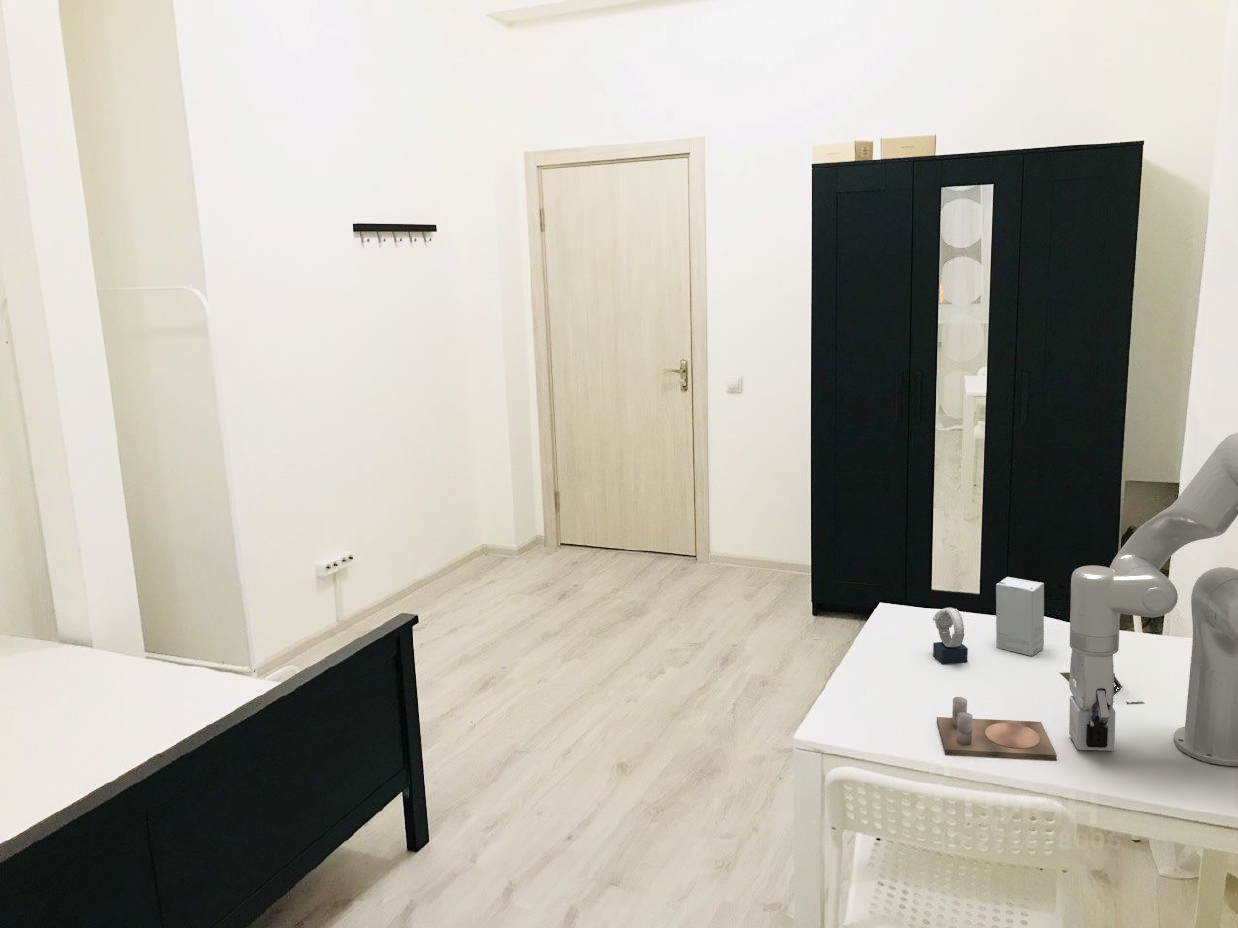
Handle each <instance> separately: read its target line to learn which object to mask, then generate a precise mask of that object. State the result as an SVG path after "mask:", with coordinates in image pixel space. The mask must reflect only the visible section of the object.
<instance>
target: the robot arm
mask: <svg viewBox="0 0 1238 928" xmlns="http://www.w3.org/2000/svg"><path fill="white" fill-rule="evenodd" d="M1237 517H1238V432H1235V433H1233V434H1230V435H1227V436H1226V437H1225V438H1224V439H1223V440H1222V441H1220V443H1218V445H1217V446H1216V448H1215V449H1214V450H1213V452H1212V453H1211V454H1210V456H1209V457H1208V458H1207V460H1206V461H1205V462H1204V464H1203V465H1202V466H1201V467H1200V469H1199V470H1198V471H1197V473H1196V474H1195V475H1194V477H1193V478H1192V479H1191V480H1190V482H1189V483H1188V484H1187V486H1186V487H1185V488H1184V489H1183V491H1182V492H1181V494H1179V496H1178V497H1177V499H1176V500H1175V501H1174V502H1173V503H1172V504H1171V505H1170V506H1168V507H1167V508H1165V509H1164V510H1162V511H1161V512H1159V513H1157V514H1156V515H1155V516H1153V517H1152V518H1150V519H1149V520H1147V521H1146V522H1144V523H1143V524H1142V525H1140V527H1138V529H1136V530H1135V531H1134V533H1133V534H1131V536H1129V538H1128V539H1127V540H1126V542H1125V543H1124V545H1123V546H1122V547H1121V549H1120V550H1119V551H1118V553H1117V554H1116V556H1115V557H1114V558H1113V559H1112V562H1111V564H1110V566H1109V567H1107V566H1101V565H1082V566H1080V567H1078V568H1075V569H1074V570H1073V572H1072V574H1071V580H1070V581H1071V582H1070V611H1069V612H1070V614H1069V615H1070V616H1069V647H1070V648H1071V655H1070V665H1069V666H1070V667H1069V673H1070V678H1069V681H1068V686H1069V690H1070V692H1071V695H1072V696H1074V698H1075V700H1076V701H1077V703H1078V705H1079V706H1080V708H1081V709H1083V710H1086V709H1088V716H1089V724H1087V735H1086V745H1087V746H1088V747H1099V748H1106V747H1107V740H1108V719H1109V713H1108V711H1109V710H1111V709H1112V707H1113V706H1114V702H1113V700H1114V685H1115V683H1114V655H1115V654H1117V653H1118V652H1119V649H1120V622H1121V621H1120V619H1121V618H1120V617H1121V615H1129V616H1135V617H1142V618H1143V617H1144V618H1157V617H1162V616H1165V615H1168V614H1169V613H1170V612H1172V611H1173V610H1174V608H1175V607H1176V606H1177V603H1178V600H1179V599H1178V598H1179V596H1178V595H1179V594H1178V590H1177V588H1176V586H1175V584H1174V583H1173V581H1171V580H1170V579H1169V578H1168V577H1167V576H1166V575H1165V574H1163V573H1162V571H1160V570H1161V569H1162V568H1163V566H1164V565H1165V563H1166V562H1167V561H1168V560H1169V559H1170V558H1171V557H1172V556H1173V555H1174V554H1175V553H1176V552H1178V550H1180V549H1181V548H1183V547H1185V546H1186V545H1188V544H1190V543H1194V542H1196V541H1202V540H1206V539H1212V538H1215V537H1220V536H1222V535H1224V534H1225V533H1226V531H1227V530H1229V529H1230V526H1231V525H1232V524H1233V523H1234V521H1236V519H1237ZM1190 599H1191V600H1190V608H1191V618H1192V619H1191V621H1192V643H1191V644H1192V645H1191V656H1190V666H1189V677H1188V689H1187V698H1186V699H1187V700H1186V702H1187V703H1186V712H1185V724H1184V726H1181V727H1179V728H1178V729H1176V730H1175V731H1174V733H1173V743H1174V745H1175V746H1176V748H1178V749H1179V750H1180V751H1181V752H1183V753H1184V754H1185V755H1187V756H1189V757H1191V758H1194V759H1197V760H1200V761H1202V762H1204V763H1209V764H1214V765H1218V766H1225V767H1226V766H1227V767H1238V569H1237V568H1232V567H1226V566H1225V567H1224V566H1221V567H1214V568H1210V569H1209V570H1206V571H1205V572H1204V573H1202V574H1201V575H1200V576H1199V577H1198V578H1197V579H1196V581H1195V583H1194V585H1193V587H1192V590H1191V596H1190ZM1093 704H1097V706H1098V707H1092V706H1093ZM1113 708H1114V707H1113ZM1093 711H1098V716H1095V717H1094V716H1093Z"/></svg>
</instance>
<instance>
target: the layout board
mask: <svg viewBox="0 0 1238 928" xmlns="http://www.w3.org/2000/svg"><path fill="white" fill-rule="evenodd" d="M967 710H968V699H967V698H965V697H962V696H956V697H953V698H952V717H948V716H947V717H944V716H943V717H941V716H936V725H937V729H938V732H939V736H940V737H939V738H940V740H941V744H942V748H943V751H944V755H945V756H946V755H947V756H965V757H969V756H970V757H988V758H1002V759H1003V758H1004V759H1005V758H1007V759H1022V760H1023V759H1024V760H1042V761H1043V760H1044V761H1057V760H1058V759H1057V758H1058V755H1057V752H1056V750H1055V748H1054V746H1053V743H1052V742H1051V739H1050V737H1049V735H1048V733H1047V731H1046V730H1045V727H1044V725H1043V723H1042V721H1033V720H1032V721H1031V720H1013V719H1012V720H1011V719H1008V720H1007V719H988V718H986V719H985V718H973V714H972V713H969V712H967Z"/></svg>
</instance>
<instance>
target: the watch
mask: <svg viewBox="0 0 1238 928" xmlns="http://www.w3.org/2000/svg"><path fill="white" fill-rule="evenodd" d="M932 621H934V622H935V627H936V629H937V630H938V635H939V638H940V641H936V642H933V645H932V646H933V647H932V648H933V650H932V651H933V652H932V656H933V658H935V660H936V661H938V663H940V664H941V665H953V664H962V663H964V664H965V663H968V657H969V656H968V650H969V648H968V647H967V646H965V645H964V643H963V642H964V638H965V624H964V619H963V617H962V614H961V612H960V611H959V610H958V609H957V608H954V607H945V608H942V609H940V610H938V611H937V612H936V613H934V615H933V617H932ZM952 627H953V633H951V631H950V628H952ZM951 634H952V635H951Z"/></svg>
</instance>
